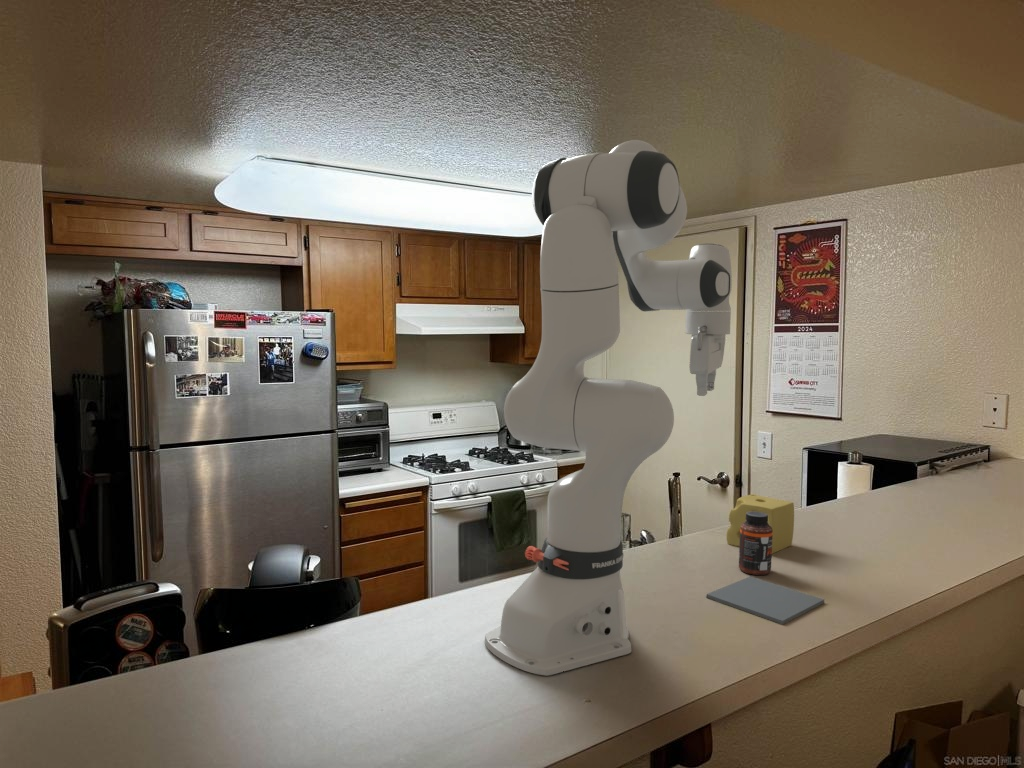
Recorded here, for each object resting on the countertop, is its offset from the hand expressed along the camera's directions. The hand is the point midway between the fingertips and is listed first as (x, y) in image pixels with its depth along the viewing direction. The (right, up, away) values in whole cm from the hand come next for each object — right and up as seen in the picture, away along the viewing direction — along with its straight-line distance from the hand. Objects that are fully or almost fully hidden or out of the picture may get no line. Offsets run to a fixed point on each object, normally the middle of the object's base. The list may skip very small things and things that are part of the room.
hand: (705, 392), depth 141 cm
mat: (+4, -36, -23) cm, 42 cm away
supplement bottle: (+7, -35, -8) cm, 36 cm away
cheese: (+14, -34, +8) cm, 37 cm away
